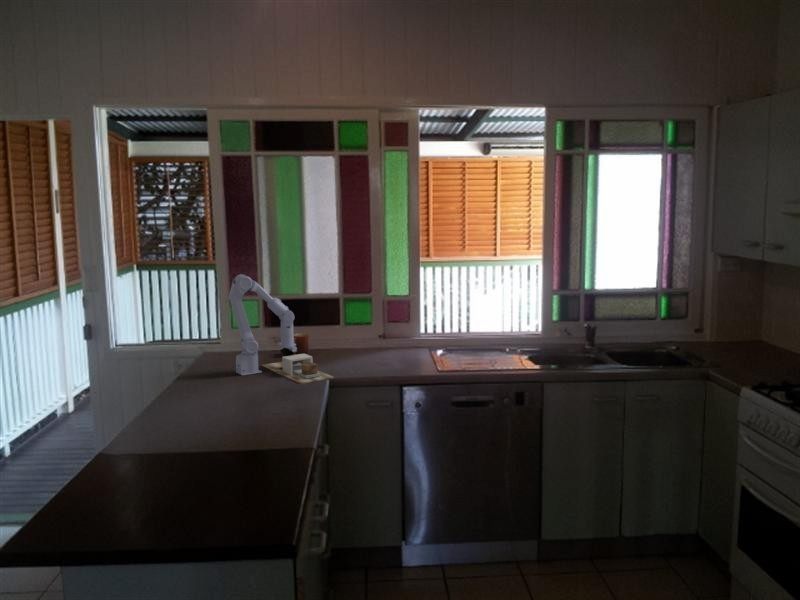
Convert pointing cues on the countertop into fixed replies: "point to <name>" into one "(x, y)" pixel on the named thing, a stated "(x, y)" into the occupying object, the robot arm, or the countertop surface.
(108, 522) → the countertop surface
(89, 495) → the countertop surface
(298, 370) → the sled
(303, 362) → the tunnel
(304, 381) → the beige flat rectangular board
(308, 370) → the walnut block
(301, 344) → the mug
